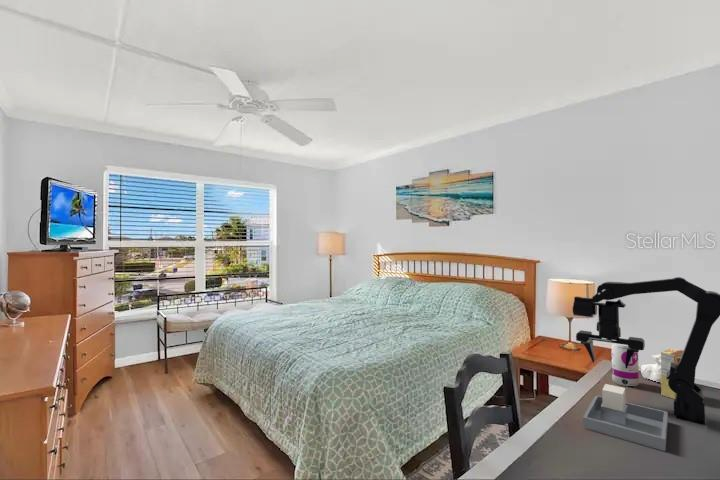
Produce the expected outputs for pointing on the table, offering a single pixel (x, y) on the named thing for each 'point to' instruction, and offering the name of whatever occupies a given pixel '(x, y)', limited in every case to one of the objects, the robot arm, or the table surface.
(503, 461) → the table surface
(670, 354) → the candy box
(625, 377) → the supplement can
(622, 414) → the steel block
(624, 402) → the cream box
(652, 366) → the duck figurine
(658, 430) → the tray
